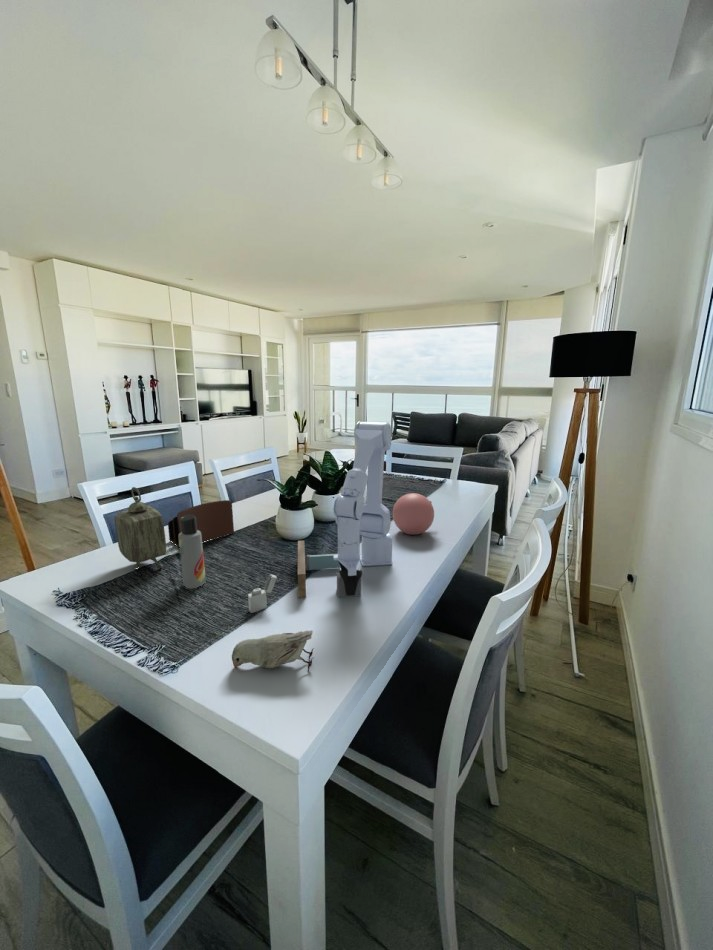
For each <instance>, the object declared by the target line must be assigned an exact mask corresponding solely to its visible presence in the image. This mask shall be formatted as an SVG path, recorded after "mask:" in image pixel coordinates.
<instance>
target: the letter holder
mask: <svg viewBox="0 0 713 950" xmlns="http://www.w3.org/2000/svg"><path fill="white" fill-rule="evenodd" d="M233 513H234V511H233V504H232V501H231V500H228V499H227V500H225V499H224V500H217V501H209V502H205V503H201V504H198V505H194V506H191V507H188V508H185V509H182V510H181V511H179V512H177V515H176V516H174V517H173V518H172V519H171V520H169V521H168V523H167V528H168V540H170V541H172V542H173V543H174V544H176V545H177V546H179V538H178V535H179V534H180V533H181V532H182V530H181V520H180V519H181V517H183V516H186V515H194V517H196V524H197V530H199V531H200V532H201V537H202V542H204V541H207V540H210V539H214V538H217V537H220V536H224V535H227V534H231V533H234V534H235V527H234V517H233V516H234V514H233ZM170 541H169V542H170ZM173 543H172V544H173ZM174 544H173V545H174ZM176 545H175V546H176ZM177 546H176V547H177Z"/></svg>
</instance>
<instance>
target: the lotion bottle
mask: <svg viewBox="0 0 713 950" xmlns="http://www.w3.org/2000/svg"><path fill="white" fill-rule="evenodd" d="M180 520H181V530H182V532H181V533H180V534H179V535H178V538H179V547H180V548H179V556H180V563H181V564H180V565H181V572H182V573H181V574H182V583H183V586H185V587H187V588H196V589H198V588H197V587H199V586H201V587H203V586H204V585H205V584H206V569H205V559H204V550H203V549H204V548H203V543H202V537H201V532H200V531H199V530H197V524H196V517H194V515H186V516H183V517H181V519H180ZM204 583H205V584H204ZM203 584H204V585H203ZM202 585H203V586H202ZM185 587H184V588H185ZM187 588H186V589H187ZM199 588H200V587H199Z"/></svg>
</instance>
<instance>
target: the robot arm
mask: <svg viewBox="0 0 713 950" xmlns="http://www.w3.org/2000/svg"><path fill="white" fill-rule="evenodd" d="M392 437H393V436H392V425H391V424H390V423H389V422H388V421H386V422H379V421H376V422H375V421H362V420H359V421H358V422H356V424H355V425H354V430H353V438H354V440H355V444H356V450H355V455H354V461H353V465H352V469H349V470H348V471H347V472H346V476H345V479H344V482H343V487H342V489H341V493H340V495H338V496H337V497H336V498H335V500H334V502H333V509H332V510H333V515H334V516H335V523H336V525H337V554H338V555H334V556H333V559H334V560H335V561H336V560H338V562H339V564H340V567H341V568H340V570H339V571H340V575H341V577H342V579H343V581H344V585H345V591H346V595H347V597H355V596H354V595H355V592H356V588H357V584H358V581H359V579H360V578H361V579H362V576H363V571H362V569H361V570H359V569H357V567H358V565H359V563H361V565H362V566H363V567H369V566H371V567H373V566H374V567H375V566H385V565H386V566H387V565H388V566H389V565H393V538H392V535H391V533H390V530H391V512H390V510H389V509H388V507H387V506H385V505H384V504H383V502H382V500H383V487H384V486H383V484H384V483H383V482H384V470H385V469H384V467H385V454H386V452H387V451H389V450H391V447H392V446H391V445H392ZM366 471H367V473H366ZM365 491H366V495H365V496H366V500H365V497H364V494H365ZM365 501H366V502H365ZM364 503H365V504H364ZM360 537H361V541H360ZM360 542H361V543H360ZM360 544H361V547H360ZM360 548H361V553H360ZM356 570H358V571H356Z"/></svg>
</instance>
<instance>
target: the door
mask: <svg viewBox="0 0 713 950" xmlns="http://www.w3.org/2000/svg"><path fill="white" fill-rule="evenodd" d="M334 555H338V553H327V554H312V555H310V554H307V555H306V554H305V571H312V570H329V569H341V567H340V564H339V562H338V560H336V561H335V560H334V559H333V556H334Z"/></svg>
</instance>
